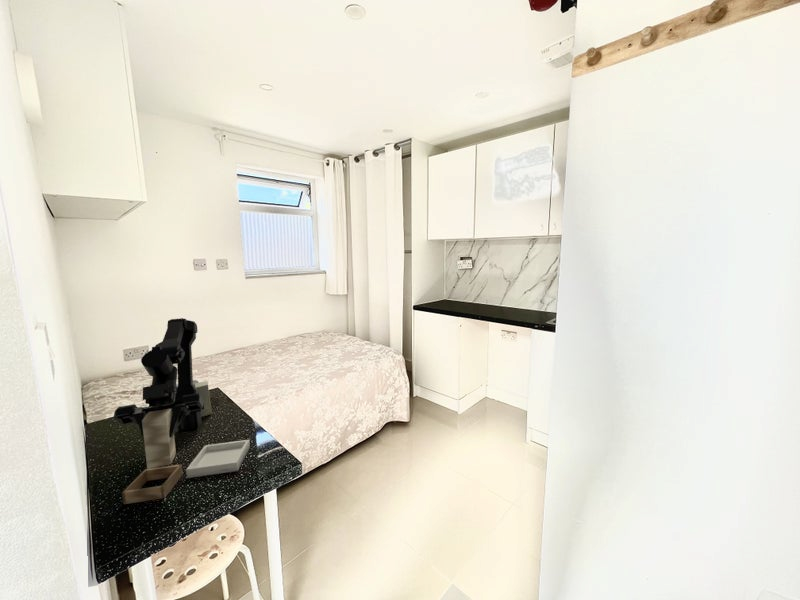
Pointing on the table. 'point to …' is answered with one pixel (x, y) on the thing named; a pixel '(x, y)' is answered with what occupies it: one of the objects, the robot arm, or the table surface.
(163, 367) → the robot arm
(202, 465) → the white tray
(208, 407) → the skincare box
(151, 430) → the maple block
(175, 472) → the oak collar
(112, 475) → the table surface
